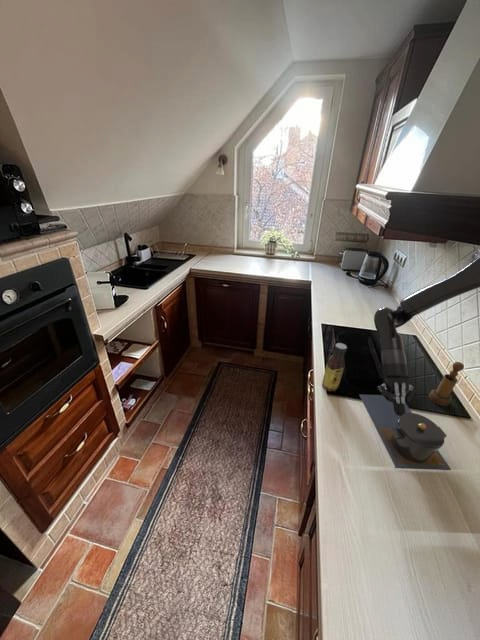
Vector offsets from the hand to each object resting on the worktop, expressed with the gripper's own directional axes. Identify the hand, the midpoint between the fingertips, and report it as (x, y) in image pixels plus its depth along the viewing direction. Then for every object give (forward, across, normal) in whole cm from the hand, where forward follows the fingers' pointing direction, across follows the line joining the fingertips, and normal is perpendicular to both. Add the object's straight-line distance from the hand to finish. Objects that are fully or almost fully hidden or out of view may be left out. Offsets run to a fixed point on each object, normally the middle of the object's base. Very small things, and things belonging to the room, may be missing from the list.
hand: (400, 415), depth 84 cm
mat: (+4, 0, +2) cm, 5 cm away
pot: (+9, 0, -3) cm, 9 cm away
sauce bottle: (-9, -18, +15) cm, 25 cm away
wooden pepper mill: (-5, +22, +11) cm, 25 cm away
